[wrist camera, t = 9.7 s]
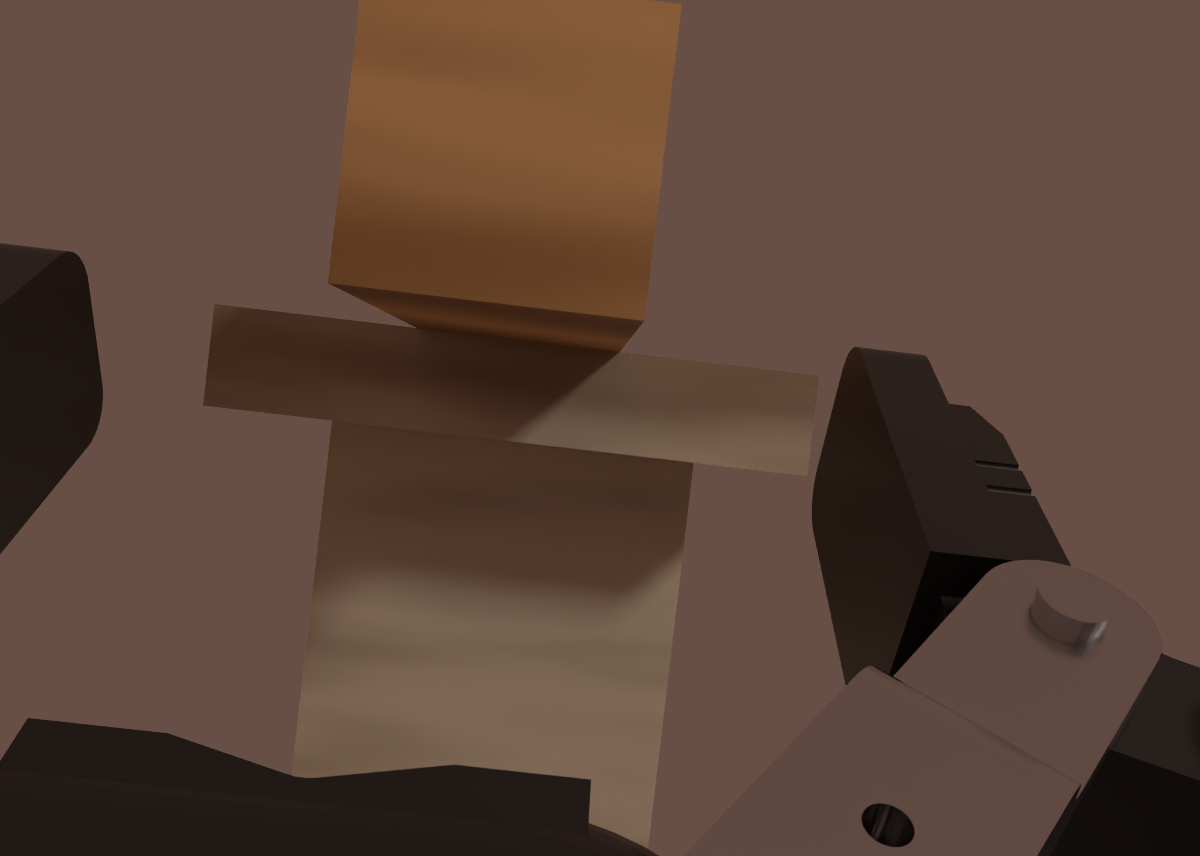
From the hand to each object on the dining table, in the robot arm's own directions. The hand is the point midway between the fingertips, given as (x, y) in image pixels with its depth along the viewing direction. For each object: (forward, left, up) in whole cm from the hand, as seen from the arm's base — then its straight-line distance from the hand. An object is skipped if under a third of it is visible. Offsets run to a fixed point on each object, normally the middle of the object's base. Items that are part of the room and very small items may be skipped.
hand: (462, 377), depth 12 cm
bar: (-6, -11, +1) cm, 12 cm away
